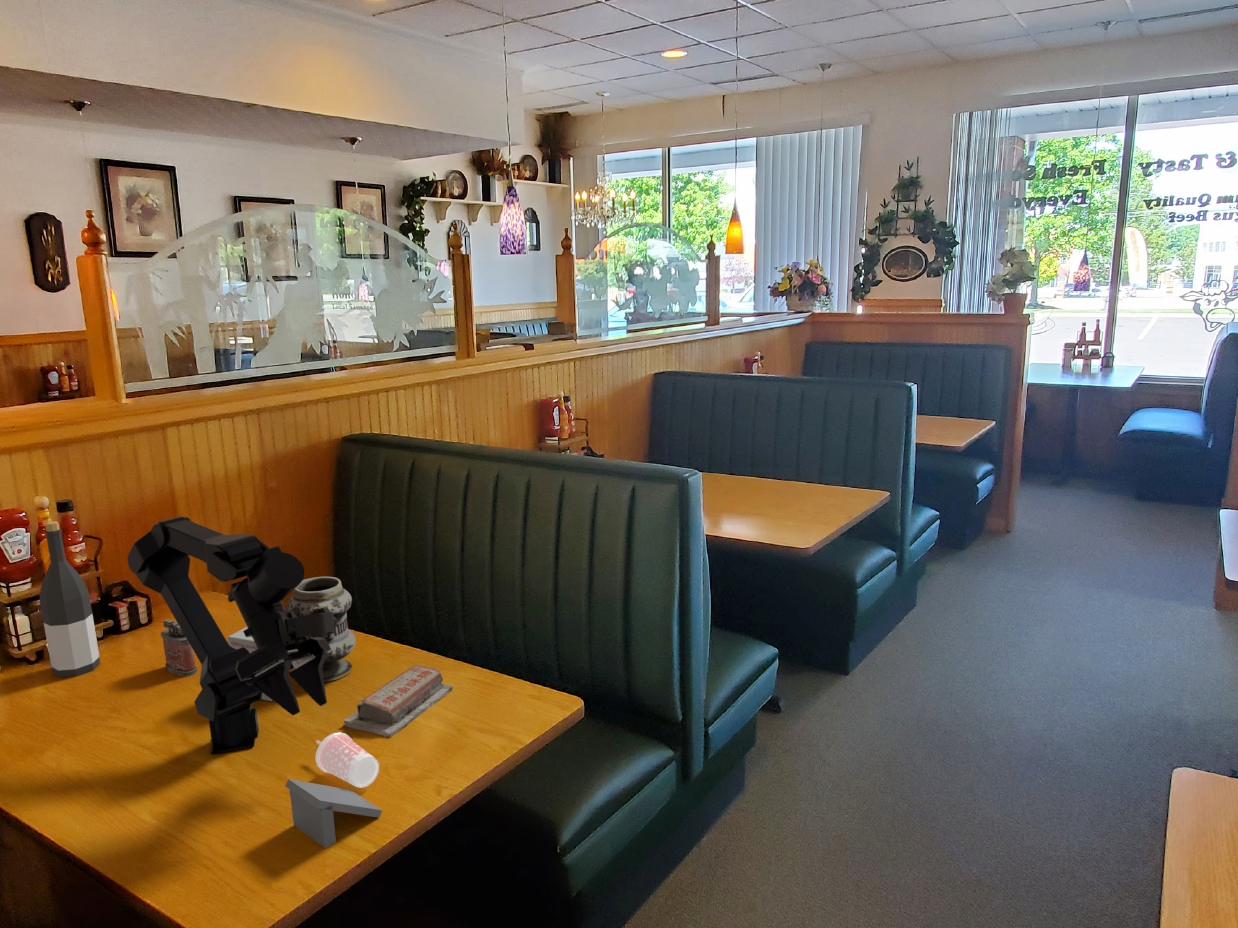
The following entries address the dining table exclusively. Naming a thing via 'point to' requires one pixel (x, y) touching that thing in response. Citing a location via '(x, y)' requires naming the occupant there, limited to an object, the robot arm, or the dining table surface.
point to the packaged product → (399, 701)
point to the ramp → (324, 808)
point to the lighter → (177, 650)
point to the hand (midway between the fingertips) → (310, 708)
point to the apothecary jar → (342, 640)
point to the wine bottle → (67, 613)
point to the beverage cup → (346, 760)
